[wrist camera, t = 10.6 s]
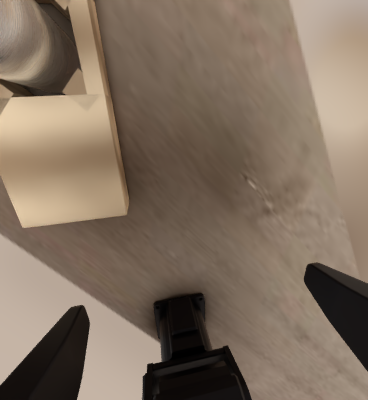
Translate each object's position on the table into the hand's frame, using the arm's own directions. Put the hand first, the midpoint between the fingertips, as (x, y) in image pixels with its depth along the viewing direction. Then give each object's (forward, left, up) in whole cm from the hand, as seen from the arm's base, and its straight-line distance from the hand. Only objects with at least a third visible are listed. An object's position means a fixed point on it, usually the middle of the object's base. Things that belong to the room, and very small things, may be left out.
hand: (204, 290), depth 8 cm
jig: (+7, +8, -13) cm, 17 cm away
